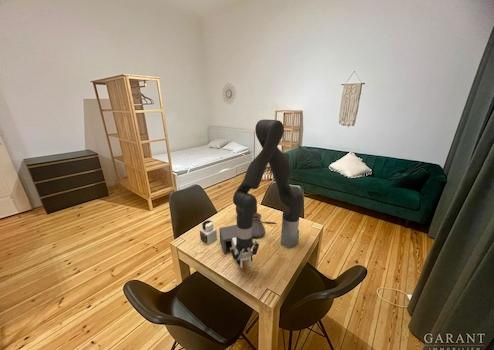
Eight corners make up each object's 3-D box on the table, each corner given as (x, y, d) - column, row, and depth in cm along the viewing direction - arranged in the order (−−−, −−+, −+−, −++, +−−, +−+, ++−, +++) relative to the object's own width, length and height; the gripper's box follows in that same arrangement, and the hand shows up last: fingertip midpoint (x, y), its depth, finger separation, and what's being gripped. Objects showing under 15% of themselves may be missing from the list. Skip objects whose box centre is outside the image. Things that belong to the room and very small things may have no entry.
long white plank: (232, 245, 109) (231, 238, 107) (240, 243, 110) (240, 236, 109) (240, 267, 95) (240, 259, 93) (250, 265, 96) (250, 257, 95)
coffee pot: (242, 233, 127) (242, 212, 122) (255, 225, 135) (255, 206, 130) (268, 250, 113) (270, 227, 108) (281, 241, 121) (282, 219, 115)
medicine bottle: (200, 239, 122) (198, 222, 117) (209, 234, 127) (208, 217, 122) (207, 245, 117) (206, 227, 113) (217, 239, 122) (216, 222, 118)
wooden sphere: (259, 222, 139) (260, 202, 134) (238, 225, 135) (238, 205, 130) (253, 211, 152) (253, 193, 147) (233, 213, 149) (233, 195, 143)
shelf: (248, 248, 115) (248, 234, 111) (224, 254, 110) (223, 239, 107) (242, 236, 124) (242, 223, 121) (220, 241, 120) (219, 228, 117)
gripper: (256, 225, 97) (255, 254, 103) (227, 231, 92) (228, 260, 98) (262, 235, 90) (261, 265, 96) (231, 241, 86) (231, 272, 92)
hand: (244, 262), depth 97 cm, fingers closed on long white plank, 5 cm apart
